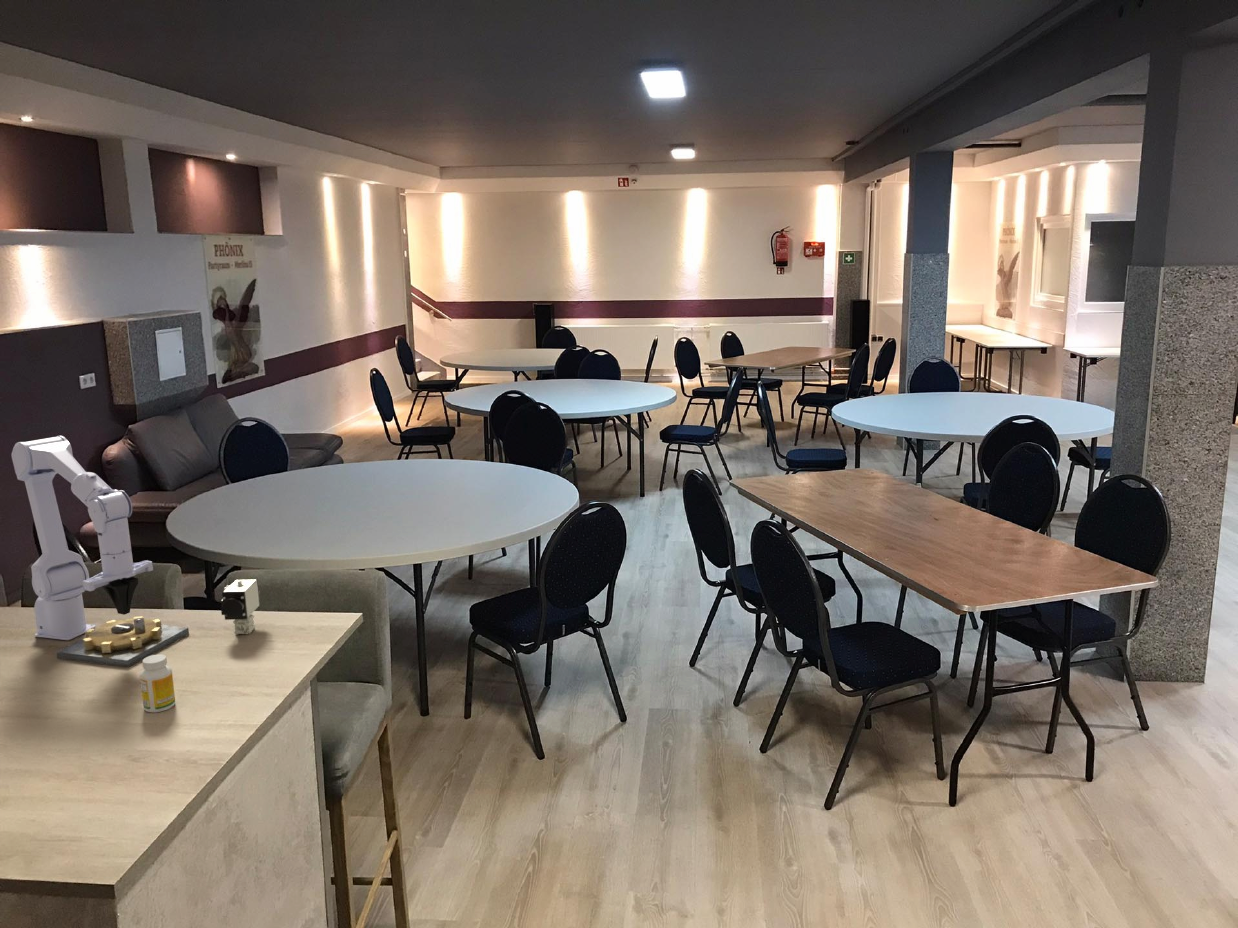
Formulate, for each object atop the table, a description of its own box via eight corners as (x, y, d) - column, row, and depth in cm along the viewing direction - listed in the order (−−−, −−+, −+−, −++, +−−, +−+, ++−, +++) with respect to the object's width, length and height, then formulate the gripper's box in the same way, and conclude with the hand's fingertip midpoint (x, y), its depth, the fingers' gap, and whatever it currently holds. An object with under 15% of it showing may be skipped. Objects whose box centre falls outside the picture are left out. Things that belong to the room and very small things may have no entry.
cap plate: (57, 658, 201) (56, 651, 201) (122, 626, 218) (121, 620, 218) (128, 667, 197) (127, 660, 196) (189, 633, 213) (188, 627, 213)
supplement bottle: (138, 713, 177) (132, 664, 175) (152, 700, 182) (146, 652, 180) (167, 713, 177) (161, 664, 175) (180, 699, 182) (175, 652, 180)
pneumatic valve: (264, 621, 220) (259, 571, 217) (246, 641, 209) (241, 589, 206) (239, 622, 220) (234, 572, 217) (220, 642, 208) (215, 590, 206)
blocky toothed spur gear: (68, 646, 203) (65, 624, 202) (126, 621, 216) (123, 600, 215) (121, 656, 198) (118, 633, 197) (177, 630, 211) (174, 608, 210)
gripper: (95, 563, 190) (104, 628, 193) (159, 543, 202) (166, 604, 205) (72, 558, 193) (81, 622, 196) (136, 539, 205) (144, 599, 208)
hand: (123, 612), depth 201 cm, fingers closed
